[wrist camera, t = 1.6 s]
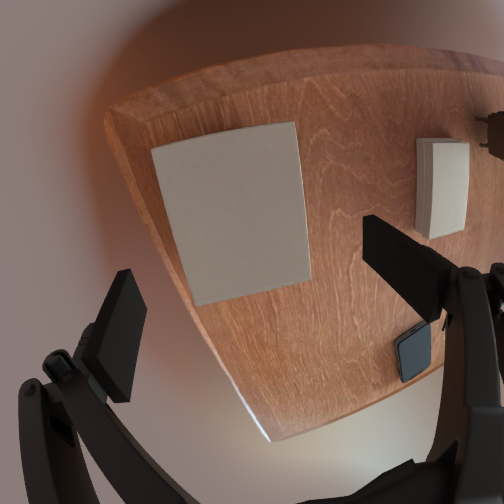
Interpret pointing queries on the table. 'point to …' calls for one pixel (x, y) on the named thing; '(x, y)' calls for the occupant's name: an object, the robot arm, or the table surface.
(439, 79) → the table surface
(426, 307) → the robot arm
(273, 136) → the light grey rectangular slab
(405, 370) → the smartphone
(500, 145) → the alarm clock
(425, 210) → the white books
